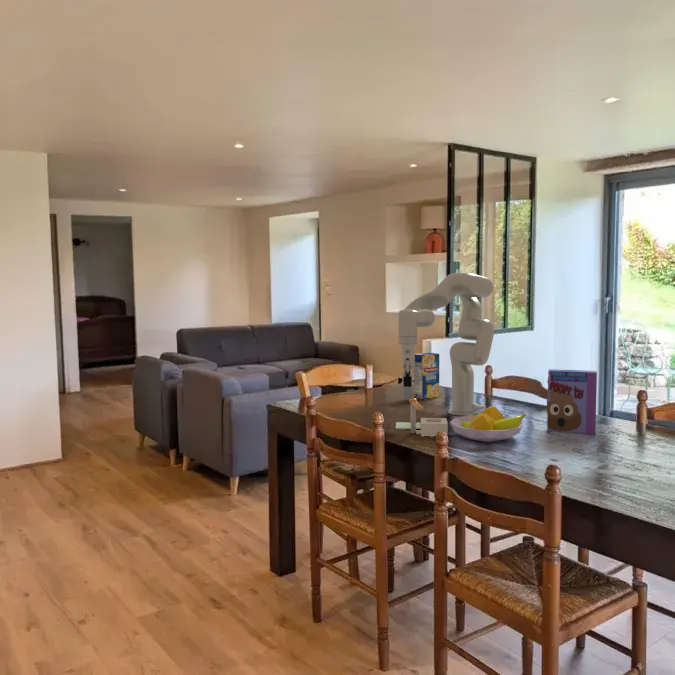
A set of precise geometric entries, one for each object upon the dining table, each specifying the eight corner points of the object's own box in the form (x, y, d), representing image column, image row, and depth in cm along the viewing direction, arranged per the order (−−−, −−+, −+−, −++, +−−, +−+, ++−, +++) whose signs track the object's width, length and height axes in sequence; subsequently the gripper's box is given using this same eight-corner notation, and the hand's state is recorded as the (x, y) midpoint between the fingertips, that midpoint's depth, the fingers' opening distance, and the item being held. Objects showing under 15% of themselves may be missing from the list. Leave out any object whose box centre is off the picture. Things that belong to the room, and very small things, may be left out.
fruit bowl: (436, 435, 250) (436, 406, 248) (488, 426, 263) (489, 398, 262) (487, 451, 226) (487, 419, 224) (542, 441, 239) (543, 410, 238)
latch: (424, 409, 240) (424, 405, 239) (416, 409, 239) (416, 405, 239) (416, 401, 254) (416, 397, 254) (408, 402, 254) (408, 398, 253)
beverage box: (413, 397, 327) (413, 354, 325) (430, 395, 333) (430, 352, 331) (422, 399, 321) (422, 355, 319) (439, 397, 327) (439, 353, 325)
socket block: (446, 430, 257) (446, 400, 256) (447, 436, 247) (447, 405, 246) (410, 430, 258) (410, 399, 257) (410, 436, 249) (410, 404, 247)
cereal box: (547, 431, 254) (548, 370, 251) (548, 428, 258) (549, 368, 256) (595, 434, 247) (596, 372, 245) (595, 431, 252) (596, 370, 249)
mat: (420, 423, 269) (420, 422, 269) (420, 429, 259) (420, 428, 259) (396, 423, 270) (396, 422, 270) (395, 429, 260) (395, 427, 260)
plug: (413, 398, 265) (413, 371, 265) (413, 400, 260) (413, 373, 260) (401, 398, 266) (401, 371, 265) (401, 400, 261) (401, 373, 260)
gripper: (417, 342, 252) (417, 388, 254) (416, 338, 269) (416, 382, 271) (397, 342, 253) (397, 388, 255) (398, 338, 270) (398, 382, 272)
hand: (407, 384), depth 263 cm, fingers closed on plug, 5 cm apart
